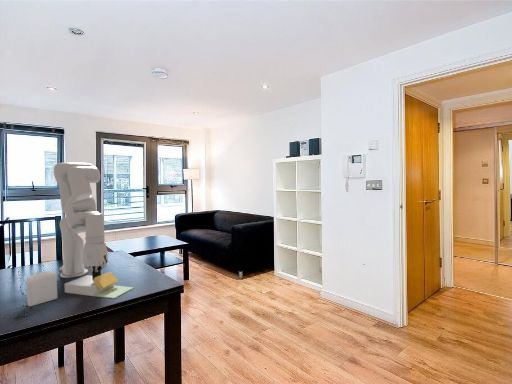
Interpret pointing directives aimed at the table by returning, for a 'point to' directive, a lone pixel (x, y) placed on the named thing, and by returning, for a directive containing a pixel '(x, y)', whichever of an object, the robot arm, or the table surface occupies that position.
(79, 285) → the plate
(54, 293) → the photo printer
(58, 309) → the table surface
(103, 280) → the tile
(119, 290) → the mat
